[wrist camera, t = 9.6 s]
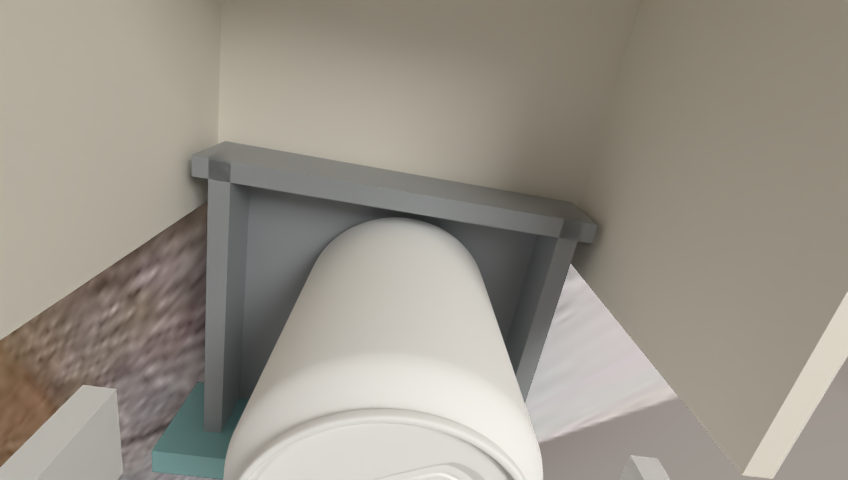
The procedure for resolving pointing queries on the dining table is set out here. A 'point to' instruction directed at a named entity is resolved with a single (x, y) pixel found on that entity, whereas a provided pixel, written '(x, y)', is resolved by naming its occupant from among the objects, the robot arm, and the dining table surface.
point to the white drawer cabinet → (477, 154)
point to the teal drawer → (306, 239)
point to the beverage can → (388, 371)
